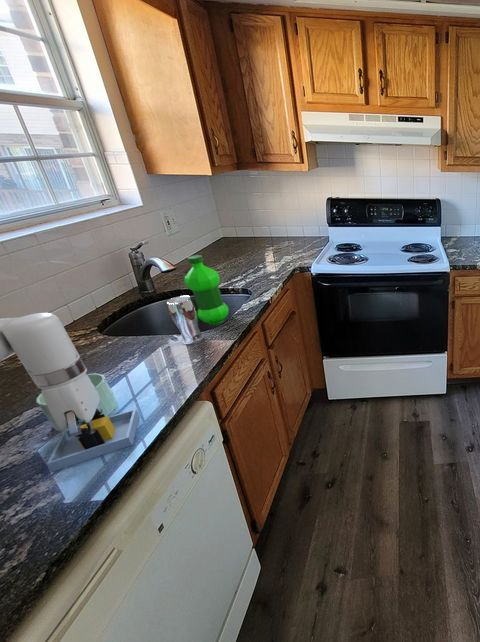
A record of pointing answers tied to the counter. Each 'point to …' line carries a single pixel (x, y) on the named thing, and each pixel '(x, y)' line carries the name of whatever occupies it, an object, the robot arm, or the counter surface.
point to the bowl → (105, 403)
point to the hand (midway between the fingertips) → (98, 437)
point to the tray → (74, 453)
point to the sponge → (102, 428)
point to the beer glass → (185, 318)
